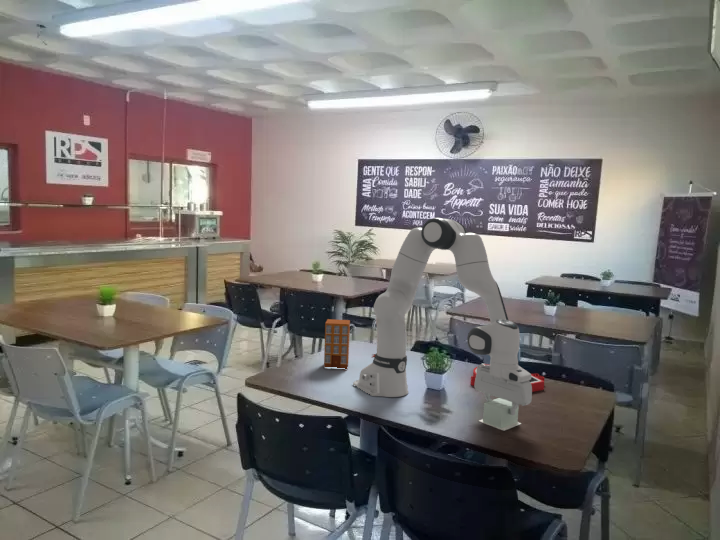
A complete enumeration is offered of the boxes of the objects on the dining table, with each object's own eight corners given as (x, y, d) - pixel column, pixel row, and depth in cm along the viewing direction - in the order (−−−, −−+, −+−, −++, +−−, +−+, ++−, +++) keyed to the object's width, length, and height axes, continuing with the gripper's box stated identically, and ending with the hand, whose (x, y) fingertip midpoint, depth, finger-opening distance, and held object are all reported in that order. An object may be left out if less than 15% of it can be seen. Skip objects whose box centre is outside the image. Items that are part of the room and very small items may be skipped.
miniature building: (323, 369, 238) (325, 323, 236) (325, 363, 248) (327, 319, 246) (346, 370, 238) (348, 324, 236) (348, 364, 247) (350, 320, 245)
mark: (478, 421, 186) (478, 420, 186) (495, 414, 193) (495, 414, 193) (503, 430, 179) (504, 430, 179) (521, 423, 185) (521, 423, 185)
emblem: (516, 363, 249) (557, 383, 221) (515, 371, 250) (556, 393, 221) (454, 365, 241) (487, 387, 213) (453, 374, 242) (487, 396, 213)
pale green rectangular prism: (482, 421, 185) (484, 402, 184) (499, 416, 192) (501, 397, 191) (500, 428, 180) (502, 408, 179) (517, 422, 186) (518, 403, 186)
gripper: (471, 363, 189) (469, 403, 191) (525, 379, 174) (521, 422, 176) (483, 361, 194) (480, 400, 195) (536, 375, 178) (532, 417, 180)
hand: (500, 410), depth 185 cm, fingers open, 7 cm apart
